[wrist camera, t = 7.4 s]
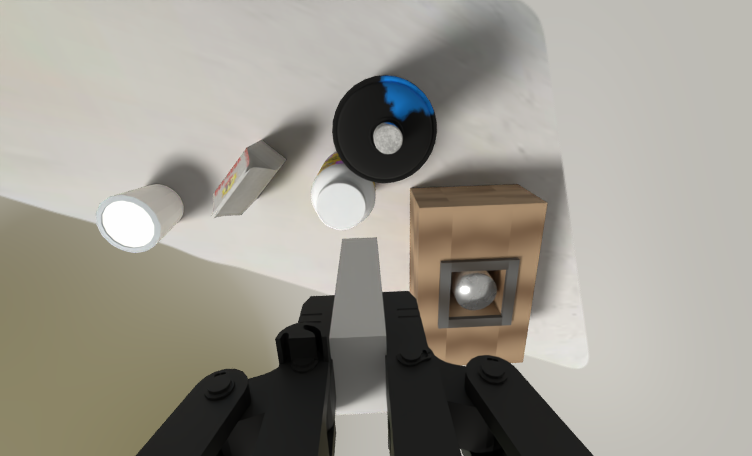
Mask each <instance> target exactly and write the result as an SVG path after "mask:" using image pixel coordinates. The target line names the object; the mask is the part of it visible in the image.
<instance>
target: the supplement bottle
mask: <svg viewBox="0 0 752 456" xmlns="http://www.w3.org/2000/svg"><path fill="white" fill-rule="evenodd" d="M375 196H376V195H375V182H372V181H368V180H365V179H363V178H361V177H359V176H357V175H356V174H354V173H353V172H352V171H351V170H349V169H348V168H347V166H346V165H345V164H344V163H343V162H342V160H341V158H340V157H339V155H338V153H337V152H336V153H334V154H332V155H331V156H330V157H328V158H327V160H326V161H325V162H324V164H323V166H322V167H321V169H320V171H319V173H318V175H317V177H316V178H315V180H314V182H313V185H312V188H311V201H312V205H313V207H314V209H315V211H316V213H317V214H318V216H319V218H320V219H321V221H322V222H323V223H324V224H325V225H327V226H328V227H330V228H332V229H336V230H347V229H351V228H353V227H355V226H356V225H358V224H359V223H360V222H362V221H363V220H364V219H366V218H367V217H368V215H369V214H370V213H371V211H372V209H373V207H374V204H375Z"/></svg>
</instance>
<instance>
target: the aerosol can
mask: <svg viewBox="0 0 752 456" xmlns="http://www.w3.org/2000/svg"><path fill="white" fill-rule="evenodd" d="M332 133H333V141H334V145H335V148H336V151H337V153H338V155H339V157H340V158H341V160H342V162H343V163H344V164H345V165H346V166H347V168H348V169H349V170H351V171H352V172H353V173H354V174H356V175H357V176H359V177H361V178H363V179H365V180H368V181H372V182H377V183H391V182H396V181H400V180H403V179H405V178H407V177H409V176H411V175H412V174H414V173H415V172H416V171H417V170H419V169H420V168H421V167H422V166H423V164H424V163H425V162H426V161H427V159H428V158H429V156H430V154H431V152H432V150H433V147H434V144H435V140H436V134H437V122H436V117H435V113H434V110H433V108H432V105H431V103H430V101H429V100H428V98H427V97H426V95H425V94H424V93H423V92H422V91H421V90H420V89H419V88H418V87H417V86H416V85H414V84H412V83H411V82H409V81H408V80H405V79H402V78H399V77H396V76H388V75H383V76H374V77H371V78H368V79H365V80H363V81H361V82H360V83H358V84H356V85H355V86H353V87H352V88H351V89H350V90H349V91H348V92H347V93H346V94H345V95H344V97H343V98H342V99H341V101H340V103H339V105H338V107H337V109H336V111H335V115H334V119H333V129H332Z"/></svg>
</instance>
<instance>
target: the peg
mask: <svg viewBox="0 0 752 456" xmlns="http://www.w3.org/2000/svg"><path fill="white" fill-rule="evenodd" d="M451 289H452V291H453V293H454V296H455V298H456V300H457V302H458V304H459V305H460V306H462V307H463V308H465V309H468V310H480V309H483V308H485V307H487V306H488V305H490V304H491V303H492V301H493V300H494V299H495V297H496V293H497V287H496V284H495V282H494V281H493V279H492V278H491V276H490V275H489V273H488V272H487V271H465V272H451Z"/></svg>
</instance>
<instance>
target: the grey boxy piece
mask: <svg viewBox="0 0 752 456" xmlns="http://www.w3.org/2000/svg"><path fill="white" fill-rule="evenodd" d="M286 160H287V159H285V158H284V157H283V156H281V155H280V154H279V153H278V152H276V151H275V150H274V149H273V148H271V147H270V146H269V145H267V144H266V143H265V142H264V141H262V140H260V141H258V142H257V143H255V144H253V145H251V146H249V147H247V148H246V149H245V151H244V152H243V154H242V155H241V156H240V158H239V159H238V161H237V162H236V163H235V165H234V166H233V167H232V169H231V170H230V172H229V173H228V174H227V176H226V177H225V179H224V180H223V181H222V183H221V184H220V185H219V187H218V188H217V190H216V191H215V192H214V194H213V213H212V215H213V214H214V213H215V212H216V211H217V212H216V215H215V217H214V218H216V217H220V216H231V215H242V214H243V213H244V212H245V211H246V210H247V208H248V207H249V206H250V205H251V204H252V203H253V202H254V201H255V200H256V199H257V197H258V196H259V195H260V194H261V192H262V191H263V190H264V188H265V187H266V186H267V184H268V183H269V182H270V181H271V179H272V178H273V177H274V175H275V174H276V173H277V171H278V170H279V169H280V168H281V166H282V165H283V164H284V162H285V161H286ZM212 215H211V216H212Z"/></svg>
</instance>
